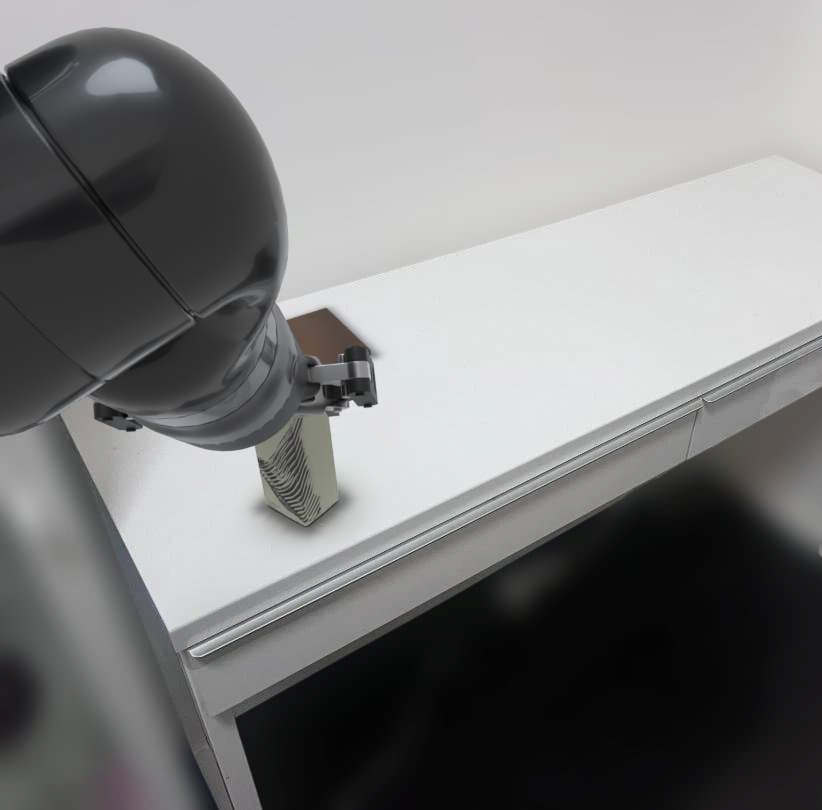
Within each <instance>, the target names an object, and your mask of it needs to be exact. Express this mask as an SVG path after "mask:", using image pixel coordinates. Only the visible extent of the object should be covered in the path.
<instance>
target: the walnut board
mask: <svg viewBox="0 0 822 810" xmlns="http://www.w3.org/2000/svg"><path fill="white" fill-rule="evenodd" d="M286 321H287V323H288V325H289V327H290V328H291V330H292V332H293V334H294V336H295V338H296V340H297V342H298V344H299V346H300V348H301V350H302V352H303V354H304V355H311V356H316V357H317V358H318V359H319V360H320V362H321V364H322V365H328V364H337V363H338V355H339V354H344V350H345V349H347V348H350V347H351V346H360V347H365V348H367V350H368V352H369V354H370V355H372V350H371V348H369V347H368V346H367V345H366V344H365V343H364V342H363V341H362V340H361V339H360V338H359V337H358V336H357V335H356V334H355V333H353V331H351V330H350V328H349V327H347V325H345V323H343V321H341V320H340V319H339V318H338V317H337V316H336V315H335V314H334V313H333V312H332V311H330V310H329V308H327V307H323V308H320V309H318V310H315V311H311V312H308V313H305V314H302V315H298V316H294V317H292V318H288V319H286Z"/></svg>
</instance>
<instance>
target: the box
mask: <svg viewBox="0 0 822 810" xmlns="http://www.w3.org/2000/svg"><path fill="white" fill-rule="evenodd" d="M254 449H255V455H256V459H257V465H258V469H259V475H260V480H261V485H262V491H263V494H264V495H263V496H264V499H265V503H266V505H268V506H269V507H271V508H272V509H274V510H275V511H277V512H279V513H281V514H282V515H284V516H285V517H287V518H289V519H291V520H293V521H295V522H296V523H299V524H300V525H301V526H304V527H307V526H309V525H311V524H312V523H313V522H314V521H315V520H316V519H318V518H320V517H321V516H322V515H323V514H324V513H326V512H327V510H329V509H330V508H331V507H332V506H333V505H335V503H336V502H338V501H339V499H340V497H339V489H338V488H339V487H338V480H337V472H336V464H335V457H334V455H335V454H334V447H333V440H332V433H331V424H330V417H328V415H327V413H326V412H324V413H323V414H322V415H317V416H312V417H307V418H291V419H290V421H289V422H288V423H287V424H286V425H285V426H284V427H283V428H282V429H281V430H280V431H279V432H278V433H276V434H275V435H274V436H272V437H271V438H269V439H268V440H266V441H264V442H262V443H260V444H258V445H255V446H254Z"/></svg>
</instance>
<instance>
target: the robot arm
mask: <svg viewBox="0 0 822 810" xmlns="http://www.w3.org/2000/svg"><path fill="white" fill-rule="evenodd" d="M3 71H4V73H5V74H4V73H2V71H0V438H4V437H9V436H14V435H18V434H21V433H24V432H27V431H29V430H30V429H33V428H37V427H38V426H41V425H43V424H45V423H46V422H48V421H50V420H51V419H53V418H55V417H56V416H59V414H62V413H63V412H65V411H66V410H68V409H70V408H71V407H72V406H74V405H76V404H77V403H78V402H80V401H81V400H83V399H84V398H89V399H91V400H92V409H93V419H94V421H97V422H100V423H102V424H105V425H107V426H109V427H111V428H113V429H116V430H119V431H125V433H135V432H137V430H142V429H144V427H145V428H147V429H148V430H150V431H153V432H155V433H157V434H160V435H163V436H165V437H168V438H170V439H174V440H177V441H179V442H182V443H184V444H187V445H191V446H192V447H196V448H199V449H203V450H207V451H211V452H212V451H213V452H235V451H241V450H246V449H249V448H253V447H255V445H258V444H260V443H262V442H264V441H266V440H268V439H269V438H271V437H272V436H274V435H275V434H276V433H278V432H279V431H280V430H281V429H282V428H283V427H284V426H285V425H286V424H287V423H288V422H289V421H290V419H291V418H307V417H312V416H317V415H322V414H323V413H324V412H326V413H327V415H328V417H329V418H331V417H339V416H340V415H341V414H340V413H342V412H343V411H345V410H347V409H349V408H350V402H352V401H353V402H354V403H355V405H356V406H357V407H363V409H368V408H369V409H371V408H373V406H376V405H379V400H378V399H379V398H378V390H377V381H376V372H375V363H374V361H373V359H372V357H371V354H369V352H368V350H367V348H365V347H360V346H351V347H350V348H347V349H345V350H344V354H339V355H338V363H337V364H328V365H322V364H321V362H320V360H319V359H318V358H317V357H316V356H311V355H304V354H303V352H302V350H301V348H300V346H299V344H298V342H297V340H296V338H295V336H294V334H293V332H292V330H291V328H290V327H289V325H288V323H287V321H286V320H287V319H286V317H285V315H284V313H283V311H282V310H281V308H280V306H279V305H278V303H277V302H276V301H277V298H278V296H279V294H280V292H281V288H282V284H283V281H284V278H285V275H286V270H287V266H288V259H289V245H290V243H289V227H288V226H289V225H288V214H287V210H286V203H285V199H284V194H283V189H282V185H281V182H280V179H279V176H278V173H277V170H276V167H275V164H274V161H273V158H272V155H271V153H270V151H269V149H268V147H267V144H266V142H265V140H264V139H263V137H262V135H261V133H260V131H259V128H258V127H257V125H256V123H255V122H254V120H253V119H252V117H251V115H250V114H249V112H248V111H247V110H246V108H245V107H244V105H243V104H242V102H241V101H240V100H239V99H238V97H237V96H236V95H235V94H234V92H233V91H232V90H231V89H230V88H229V86H228V85H227V84H226V83H225V82H224V81H223V80H222V79H221V78H220V77H219V76H218V75H217V74H216V73H214V71H212V70H211V69H210V68H209V67H208V66H206V65H204V63H202V62H201V61H200V60H198V59H197V58H195V57H194V56H192V55H191V54H190V53H188V52H187V51H186V50H185V49H183V48H181V47H179V46H177V45H176V44H172V43H171V42H168V41H167V40H164V39H160V38H159V37H157V36H154V35H152V34H148V33H145V32H141V31H138V30H133V29H130V28H122V27H108V26H102V27H101V26H100V27H93V28H85V29H80V30H77V31H74V32H71V33H67V34H65V35H62V36H59V37H57V38H55V39H52V40H50V41H48V42H46V43H44V44H42V45H40V46H38V47H36V48H34V49H33V50H31V51H29V52H27V53H25V54H23V55H22V56H20V57H18V58H16V59H14V60H12V61H10V62H9V63H6V64H5V65H4V66H3Z"/></svg>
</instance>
